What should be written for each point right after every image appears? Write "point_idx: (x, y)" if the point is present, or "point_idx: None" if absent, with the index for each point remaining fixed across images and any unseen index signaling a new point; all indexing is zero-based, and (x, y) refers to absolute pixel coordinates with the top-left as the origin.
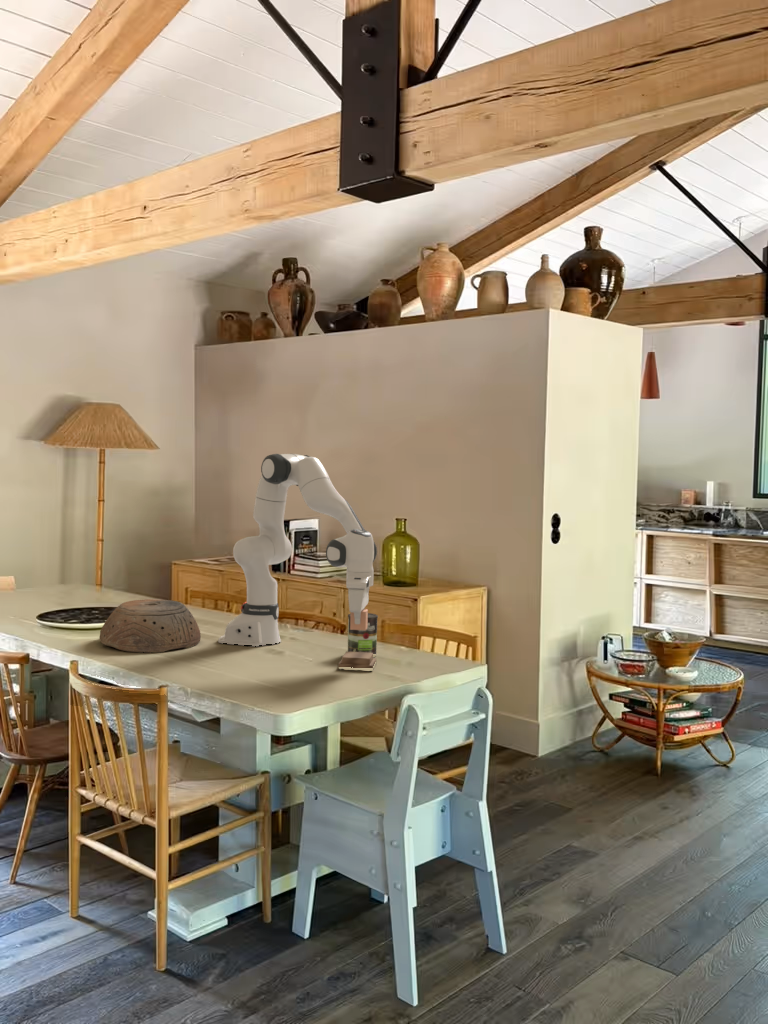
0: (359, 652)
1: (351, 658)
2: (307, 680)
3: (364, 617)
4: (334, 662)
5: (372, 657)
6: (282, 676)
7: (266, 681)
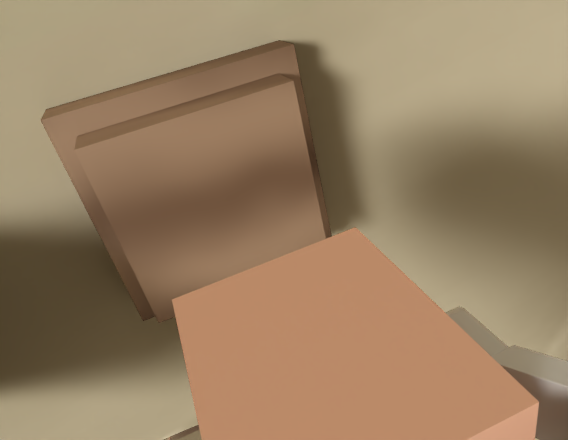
0: (136, 241)
1: (316, 201)
2: (523, 233)
3: (458, 342)
4: (166, 333)
5: (119, 127)
6: None
7: (552, 326)
